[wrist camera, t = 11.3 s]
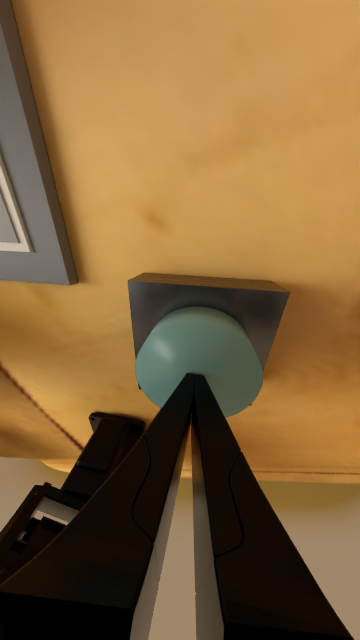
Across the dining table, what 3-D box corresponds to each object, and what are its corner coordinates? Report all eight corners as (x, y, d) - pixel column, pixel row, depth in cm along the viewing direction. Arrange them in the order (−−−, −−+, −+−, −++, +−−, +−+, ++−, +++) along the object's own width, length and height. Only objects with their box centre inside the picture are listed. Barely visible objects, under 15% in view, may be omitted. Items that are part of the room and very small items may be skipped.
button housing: (243, 378, 13) (250, 405, 11) (149, 365, 14) (138, 389, 12) (270, 281, 10) (290, 292, 8) (143, 272, 11) (127, 280, 8)
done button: (239, 396, 10) (246, 428, 9) (150, 383, 11) (139, 410, 9) (263, 312, 8) (281, 332, 6) (145, 302, 8) (129, 317, 7)
